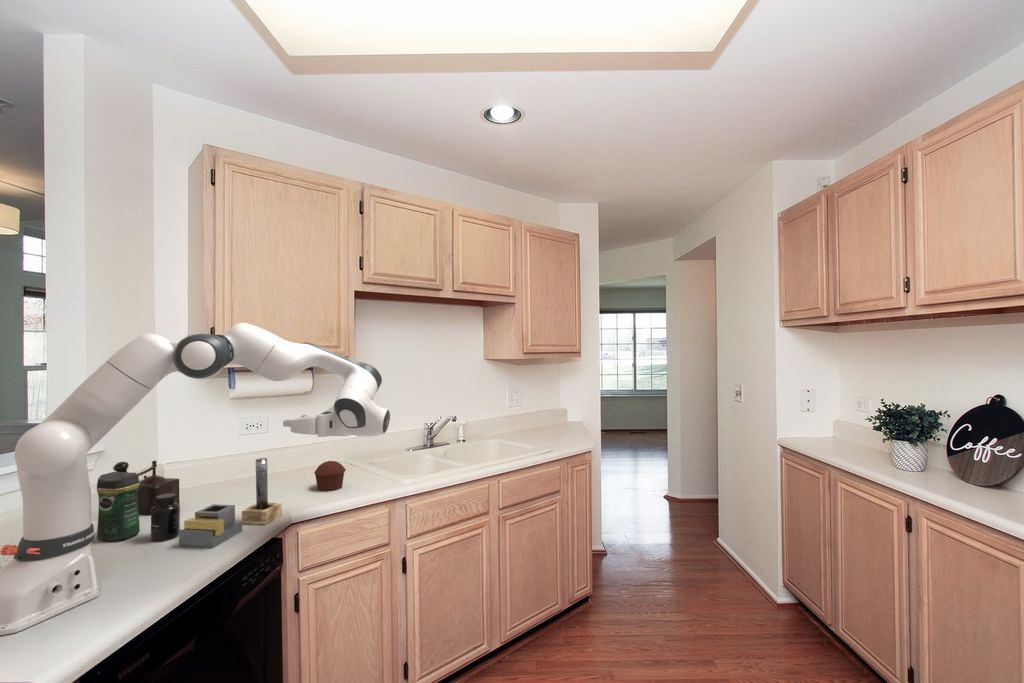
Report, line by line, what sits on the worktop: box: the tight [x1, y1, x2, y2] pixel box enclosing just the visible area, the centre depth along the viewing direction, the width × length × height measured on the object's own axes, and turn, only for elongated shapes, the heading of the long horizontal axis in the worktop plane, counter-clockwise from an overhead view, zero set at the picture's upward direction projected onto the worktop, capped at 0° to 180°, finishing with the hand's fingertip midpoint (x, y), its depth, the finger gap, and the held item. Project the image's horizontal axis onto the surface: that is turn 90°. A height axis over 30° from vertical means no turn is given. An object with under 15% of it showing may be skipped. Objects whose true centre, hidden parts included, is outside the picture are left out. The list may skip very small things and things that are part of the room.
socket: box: [178, 504, 243, 549], centre depth 139 cm, size 12×10×8 cm
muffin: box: [313, 460, 347, 492], centre depth 187 cm, size 12×11×10 cm
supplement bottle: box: [150, 493, 181, 543], centre depth 140 cm, size 7×7×12 cm
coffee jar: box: [96, 471, 141, 542], centre depth 141 cm, size 10×8×19 cm
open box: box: [241, 502, 283, 526], centre depth 154 cm, size 8×8×4 cm
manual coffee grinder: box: [112, 460, 181, 516], centre depth 161 cm, size 16×11×18 cm
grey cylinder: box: [255, 457, 269, 510], centre depth 154 cm, size 3×3×18 cm
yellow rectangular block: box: [183, 517, 224, 536], centre depth 135 cm, size 2×10×4 cm, turn 83°
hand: (293, 420), depth 148 cm, fingers open, 8 cm apart
